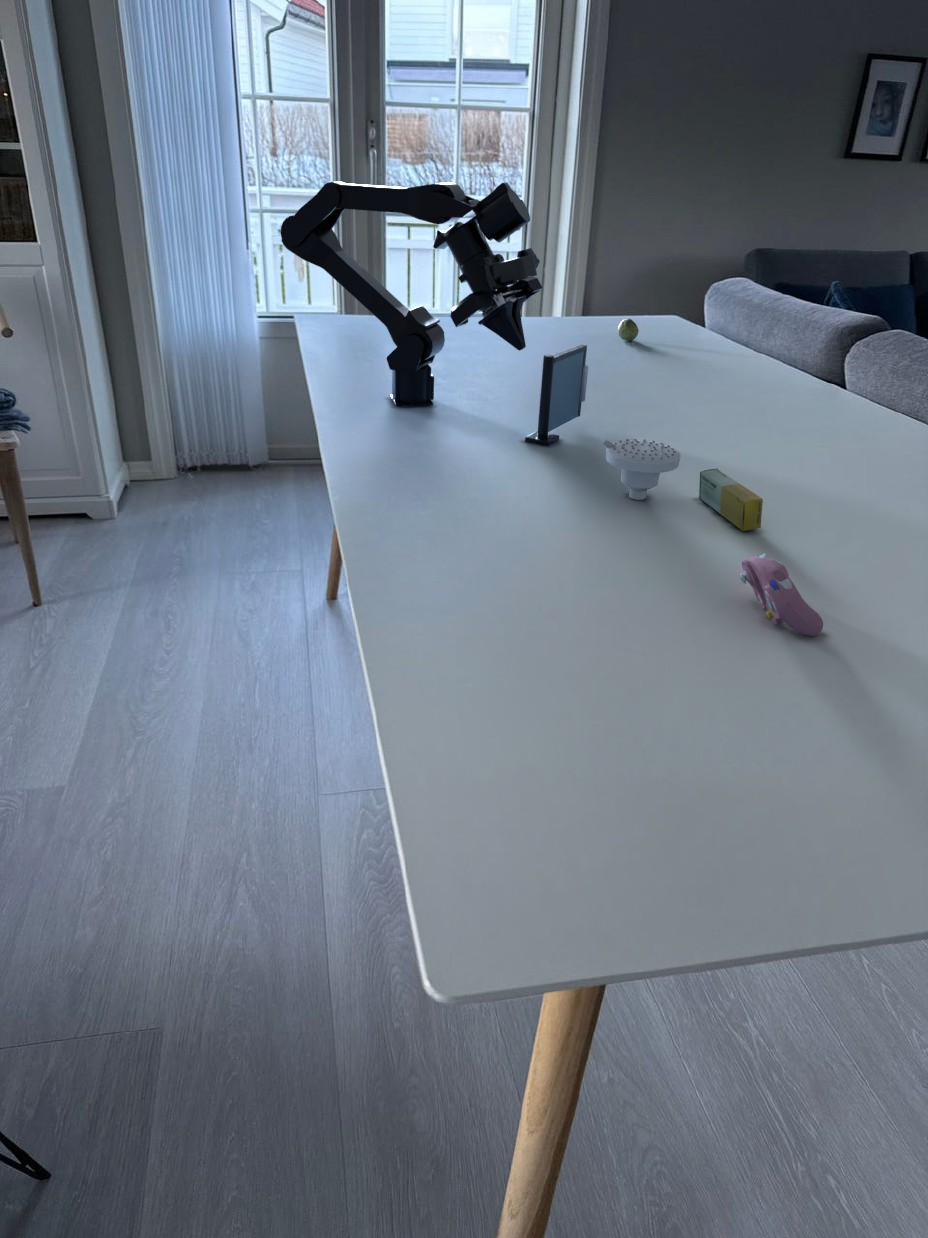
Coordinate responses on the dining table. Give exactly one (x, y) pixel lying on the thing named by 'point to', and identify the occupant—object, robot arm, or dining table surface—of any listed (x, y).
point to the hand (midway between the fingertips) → (522, 348)
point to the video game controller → (780, 595)
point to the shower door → (568, 386)
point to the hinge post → (544, 407)
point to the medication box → (731, 499)
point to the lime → (628, 330)
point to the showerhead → (641, 463)
